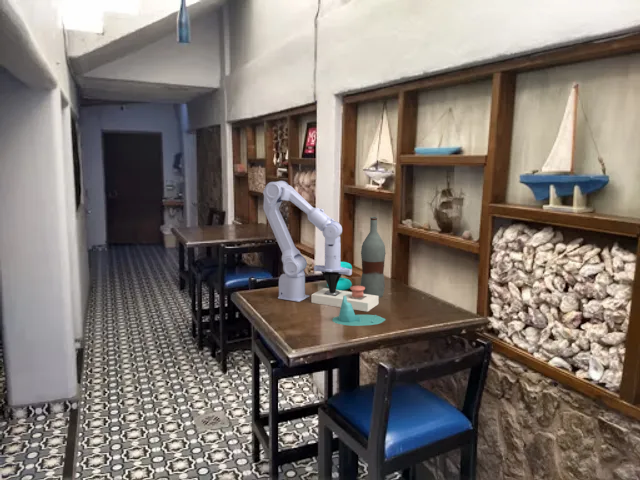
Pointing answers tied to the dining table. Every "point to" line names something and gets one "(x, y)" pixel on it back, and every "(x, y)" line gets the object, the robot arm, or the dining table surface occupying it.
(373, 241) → the bottle
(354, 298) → the socket block
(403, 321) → the dining table surface
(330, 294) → the grey plug
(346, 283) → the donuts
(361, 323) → the teal witch hat
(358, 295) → the red plug
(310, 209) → the robot arm
